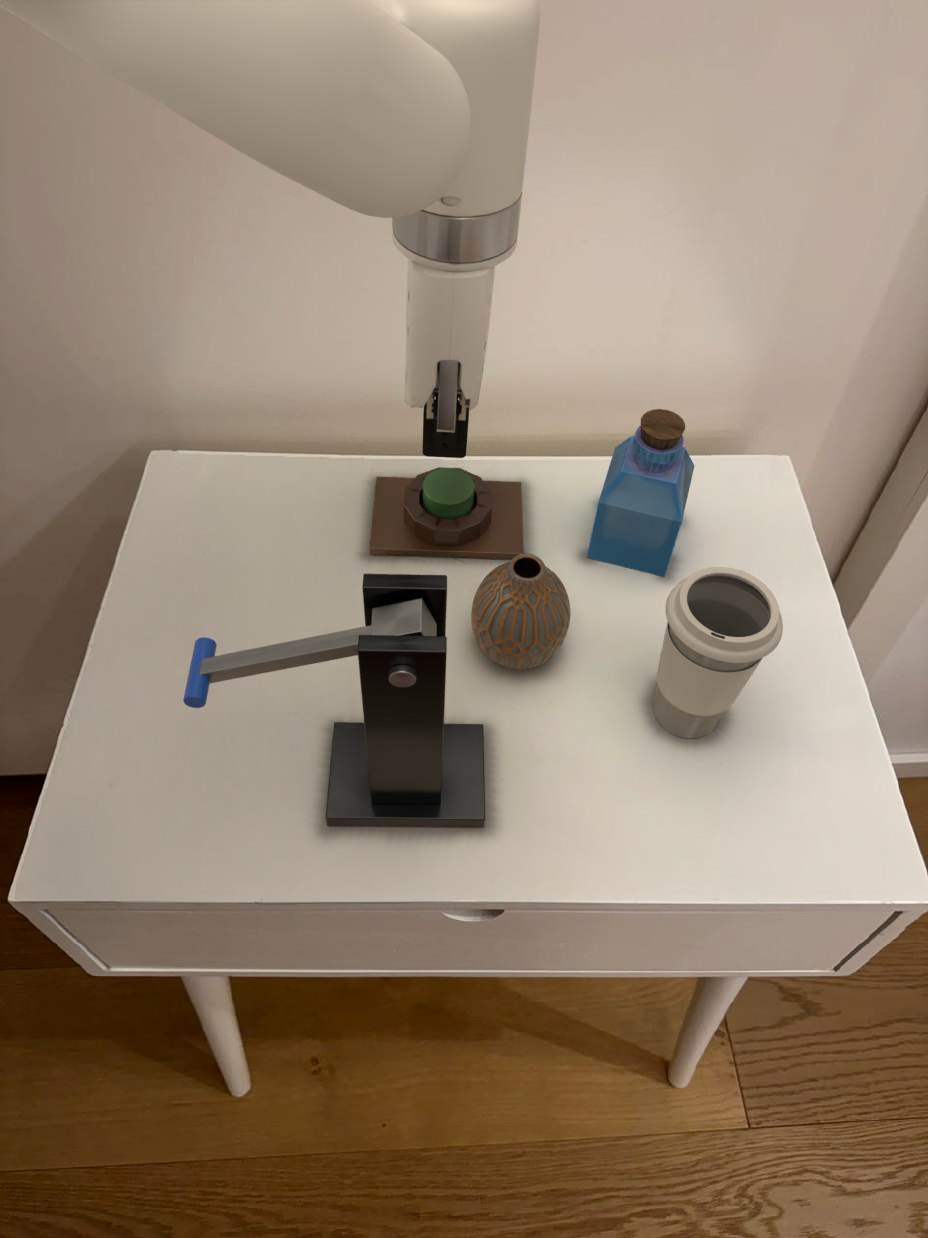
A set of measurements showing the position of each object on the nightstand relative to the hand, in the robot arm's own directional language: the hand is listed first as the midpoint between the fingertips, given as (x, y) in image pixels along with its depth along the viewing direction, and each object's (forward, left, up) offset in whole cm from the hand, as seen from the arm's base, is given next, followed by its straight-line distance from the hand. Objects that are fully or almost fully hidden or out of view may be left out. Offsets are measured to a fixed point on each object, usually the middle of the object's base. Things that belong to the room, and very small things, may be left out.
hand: (444, 449), depth 70 cm
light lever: (-12, -21, +5) cm, 25 cm away
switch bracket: (-8, -22, -8) cm, 24 cm away
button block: (0, 0, -8) cm, 8 cm away
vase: (+2, -13, -8) cm, 16 cm away
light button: (0, 0, -6) cm, 6 cm away
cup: (+12, -21, -8) cm, 26 cm away
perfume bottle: (+14, -5, -8) cm, 17 cm away
